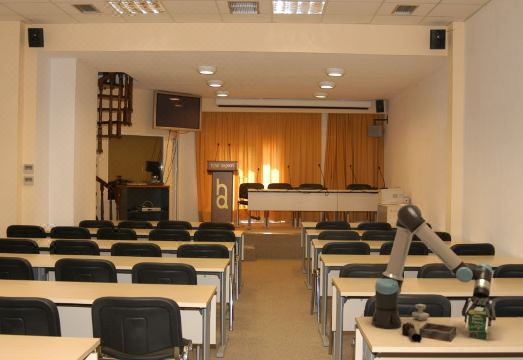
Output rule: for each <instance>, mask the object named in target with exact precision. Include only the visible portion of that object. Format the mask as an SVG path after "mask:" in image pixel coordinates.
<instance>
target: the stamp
mask: <svg viewBox="0 0 523 360" xmlns="http://www.w3.org/2000/svg"><path fill="white" fill-rule="evenodd" d="M414 306H415V309H416V310H417V311H413V312H412V313H411V315H412V317H413V318H415V320H416V319H418V320H417V321H419V320H422V321H426V320H427V319H428V318H429V317H430V314H429V313H428V312H427V313H426V312H424V310H426V307H427V305H426V304H423V303H418V304H415V305H414Z"/></svg>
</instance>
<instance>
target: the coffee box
mask: <svg viewBox="0 0 523 360" xmlns="http://www.w3.org/2000/svg"><path fill="white" fill-rule="evenodd" d="M486 319H487V314H486V311H485V310H476V309H474V310H469V327H468V337H469V338H473V339H480V340H487V337H488V335H487V334H488V333H486V331H485V328H486Z"/></svg>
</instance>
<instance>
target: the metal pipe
mask: <svg viewBox="0 0 523 360" xmlns="http://www.w3.org/2000/svg"><path fill="white" fill-rule="evenodd" d="M401 333H402V335H403V336H406V337H409V338H410V340H411V341H413V342H414V343H420V342H421V341H422V339H423V337H421V335H420V334H419V332H418V331H417V329H416V327H415V325H414V324H413V323H411V322H410V323H409V322H404V323H403V324H401Z"/></svg>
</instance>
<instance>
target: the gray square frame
mask: <svg viewBox="0 0 523 360" xmlns="http://www.w3.org/2000/svg"><path fill="white" fill-rule="evenodd" d="M418 329H419V332H418V333H419V334H420V335H421V337H422V338H426V339H432V340H436V341H437V340H438V341H444V342H449V343H450V342H452V341H453V339H454V338H455V337H456V336H457V326H452V325H451V326H450V325H446V324H445V325H444V324H439V323H430V322H425V324H423V325H422V326H420V328H418Z"/></svg>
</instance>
